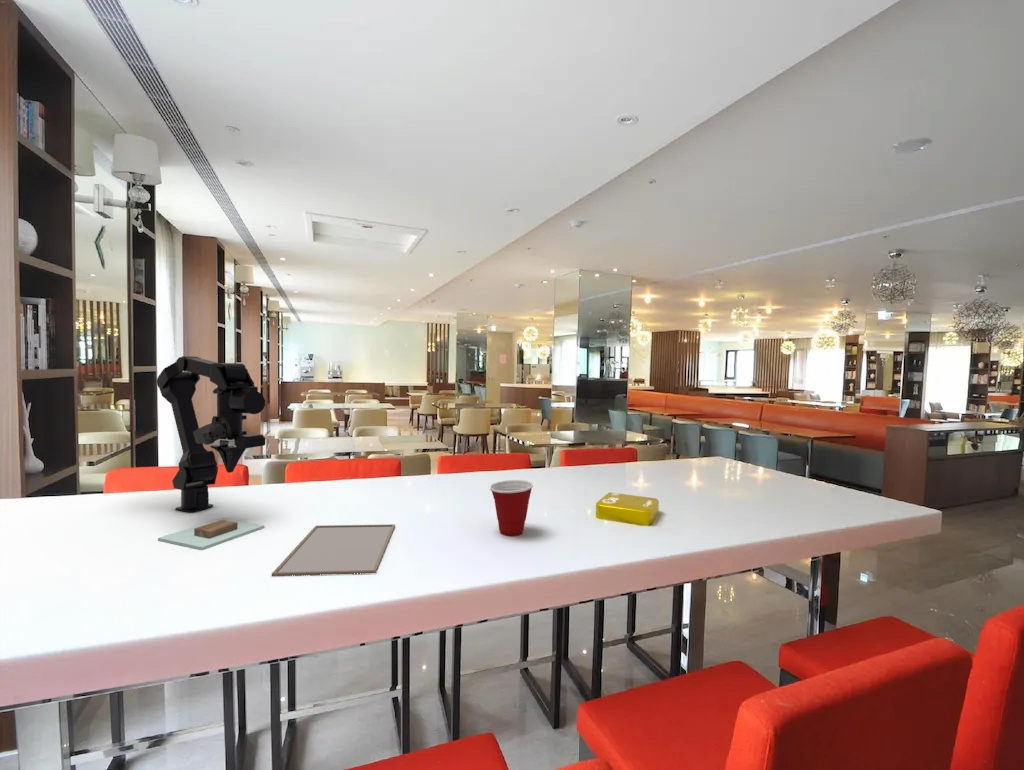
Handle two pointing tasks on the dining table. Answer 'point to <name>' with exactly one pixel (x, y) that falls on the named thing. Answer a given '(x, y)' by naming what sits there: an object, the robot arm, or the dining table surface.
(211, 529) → the brown wooden block
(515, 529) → the plastic cup
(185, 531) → the mat
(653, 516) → the element tile
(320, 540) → the picture frame
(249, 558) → the dining table surface
